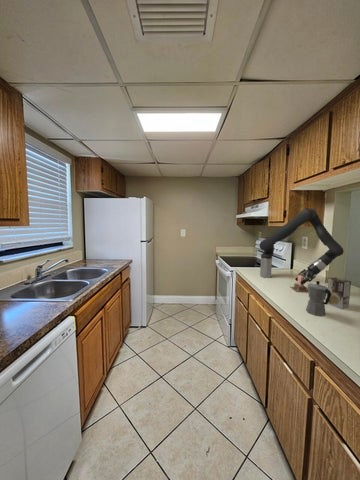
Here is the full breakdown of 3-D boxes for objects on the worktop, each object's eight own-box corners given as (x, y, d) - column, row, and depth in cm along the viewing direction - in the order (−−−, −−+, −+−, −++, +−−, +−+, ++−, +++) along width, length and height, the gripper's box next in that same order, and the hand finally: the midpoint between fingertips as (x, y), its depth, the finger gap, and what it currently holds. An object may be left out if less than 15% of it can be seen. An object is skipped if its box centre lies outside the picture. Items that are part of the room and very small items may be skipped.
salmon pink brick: (297, 288, 151) (297, 275, 150) (299, 288, 151) (300, 275, 150) (300, 290, 146) (301, 277, 145) (303, 290, 146) (304, 277, 145)
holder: (289, 287, 155) (289, 281, 155) (303, 288, 154) (303, 282, 153) (296, 293, 143) (296, 286, 143) (311, 294, 142) (312, 287, 142)
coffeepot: (299, 307, 120) (301, 277, 118) (314, 307, 121) (316, 277, 119) (319, 320, 105) (322, 286, 103) (336, 320, 106) (339, 286, 104)
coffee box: (349, 307, 121) (351, 281, 119) (342, 309, 118) (344, 282, 117) (332, 302, 129) (335, 277, 127) (326, 303, 127) (328, 278, 125)
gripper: (308, 261, 153) (290, 275, 155) (318, 265, 139) (299, 281, 141) (315, 268, 153) (297, 282, 155) (326, 273, 138) (307, 289, 141)
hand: (298, 282), depth 148 cm, fingers open, 8 cm apart
